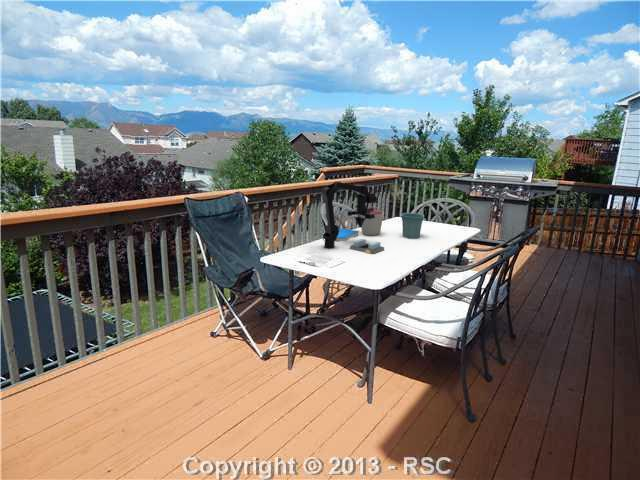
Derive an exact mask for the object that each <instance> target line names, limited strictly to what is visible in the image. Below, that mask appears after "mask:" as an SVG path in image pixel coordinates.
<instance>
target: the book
mask: <svg viewBox="0 0 640 480" xmlns="http://www.w3.org/2000/svg"><path fill="white" fill-rule="evenodd" d="M359 232H360V230H354V229H347V228H339V235H338V236H337V238H336V241H335V243H336V242H337V243H339V242H346V241H348V240H350V239H353V238H356V237H358V236H359ZM323 239H324V238H323V237H322V240H323Z"/></svg>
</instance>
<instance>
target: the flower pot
mask: <svg viewBox="0 0 640 480" xmlns="http://www.w3.org/2000/svg"><path fill="white" fill-rule="evenodd" d="M400 216H401V221H402V224H401V225H402V238H403V237H404V238H407V239H418V238H420V237H421V230H422V225H423V221H424V217H425V215H424V214H421V213H416V212H415V213H414V212H403V213H401V214H400Z"/></svg>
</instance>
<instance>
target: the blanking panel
mask: <svg viewBox="0 0 640 480" xmlns="http://www.w3.org/2000/svg"><path fill="white" fill-rule="evenodd" d="M368 244H369V245H368V249H369V250H375V249H378V248H380V246H381V241H374V242H372V243H368Z"/></svg>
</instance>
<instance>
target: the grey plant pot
mask: <svg viewBox="0 0 640 480" xmlns="http://www.w3.org/2000/svg"><path fill="white" fill-rule="evenodd" d="M369 209H371V212H370V213H372V214H374V215H375V218H372V219H365V220H364V222H363V225H362V227H361V233H362V234H363V235H365V236H370V237H372V236H373V237H375V236H378V235H379V234H380V233H381V231H382V226H383V225H382V224H383V217H384V214H385V212H384V211H382V210H381V209H375V207H374V206H369ZM365 214H368V213H365Z"/></svg>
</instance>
